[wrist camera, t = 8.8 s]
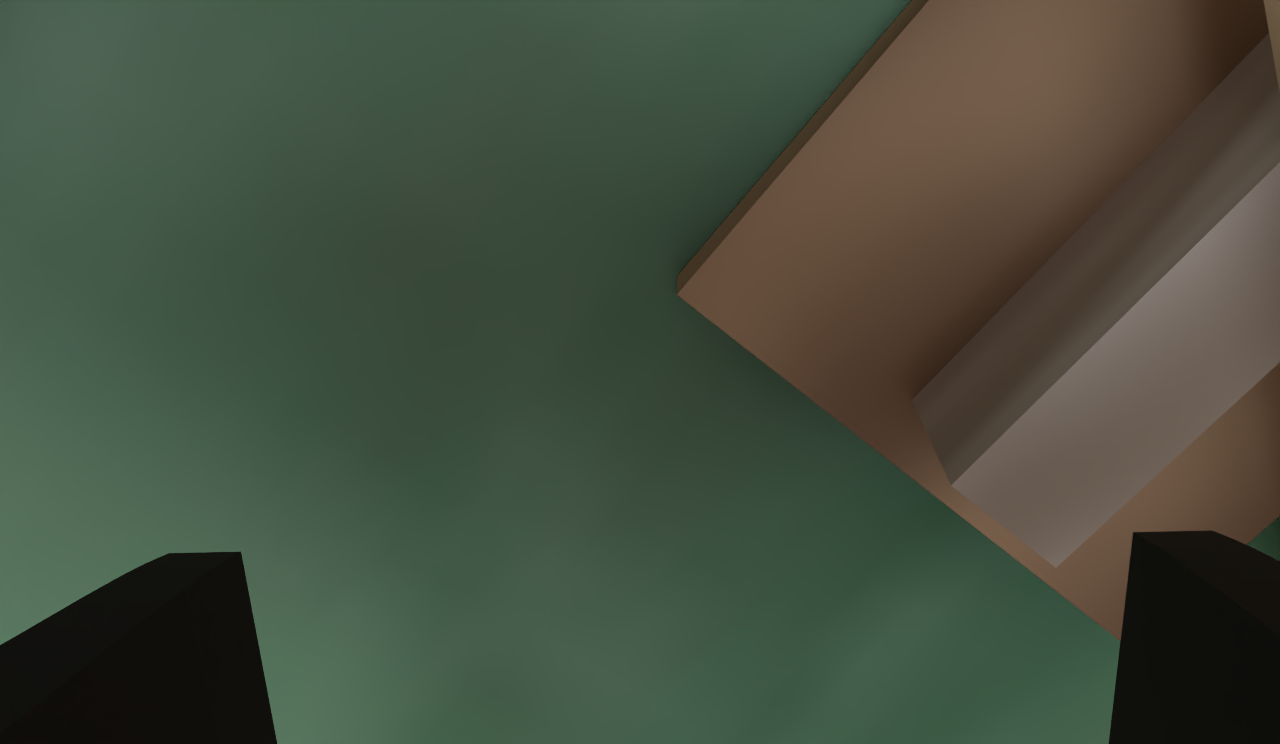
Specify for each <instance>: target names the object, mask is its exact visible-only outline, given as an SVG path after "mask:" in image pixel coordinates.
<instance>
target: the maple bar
mask: <svg viewBox="0 0 1280 744" xmlns="http://www.w3.org/2000/svg"><path fill="white" fill-rule="evenodd" d="M1264 6H1265V12H1266V17H1267V23H1268V29H1269V35H1270V40H1271V46H1272V52H1273V57H1274V63H1275V69H1276V74H1277V80H1278V86H1279V91H1280V0H1264Z"/></svg>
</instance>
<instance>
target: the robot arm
mask: <svg viewBox="0 0 1280 744" xmlns="http://www.w3.org/2000/svg"><path fill="white" fill-rule="evenodd" d="M0 744H277V740H276V735H275V730H274V724H273V719H272V714H271V709H270V703H269V698H268V693H267V687H266V682H265V677H264V671H263V666H262V661H261V656H260V650H259V645H258V640H257V634H256V629H255V624H254V618H253V613H252V608H251V603H250V597H249V592H248V587H247V581H246V576H245V571H244V565H243V560H242V555H241V552H209V553H169V554H166V555H164V556H162V557H160V558H157V559H155V560H153V561H150V562H148V563H146V564H144V565H142V566H140V567H138V568H136V569H134V570H132V571H130V572H128V573H126V574H124V575H122V576H120V577H119V578H117V579H115V580H113V581H111V582H109V583H108V584H106V585H104V586H102V587H100V588H99V589H97V590H95V591H93V592H92V593H90V594H88V595H86V596H85V597H83V598H81V599H79V600H78V601H76V602H74V603H72V604H71V605H69V606H67V607H65V608H64V609H62V610H60V611H59V612H57V613H55V614H53V615H52V616H50V617H48V618H46V619H45V620H43V621H41V622H40V623H38V624H36V625H34V626H33V627H31V628H29V629H28V630H26V631H24V632H22V633H21V634H19V635H17V636H15V637H14V638H12V639H10V640H9V641H7V642H5V643H3V644H2V645H0ZM1109 744H1280V562H1279V561H1277V560H1276V559H1274V558H1272V557H1270V556H1268V555H1266V554H1264V553H1262V552H1260V551H1258V550H1256V549H1254V548H1252V547H1250V546H1248V545H1245V544H1243V543H1241V542H1239V541H1237V540H1235V539H1232V538H1230V537H1227V536H1225V535H1222V534H1220V533H1218V532H1215V531H1212V530H1208V531H1163V532H1133V537H1132V546H1131V555H1130V563H1129V572H1128V581H1127V590H1126V598H1125V607H1124V616H1123V624H1122V633H1121V642H1120V651H1119V659H1118V668H1117V677H1116V686H1115V694H1114V703H1113V712H1112V720H1111V729H1110V738H1109Z"/></svg>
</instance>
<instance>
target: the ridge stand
mask: <svg viewBox="0 0 1280 744" xmlns="http://www.w3.org/2000/svg"><path fill="white" fill-rule="evenodd" d="M677 295H678V296H679V297H680V298H682V299H683V300H684V301H686V302H687V303H688V304H689V305H691V306H692V307H693V308H695V309H696V310H697V311H698V312H700V313H701V314H702V315H703V316H705V317H706V318H707V319H709V320H710V321H711V322H712V323H714V324H715V325H716V326H718V327H719V328H720V329H721V330H723V331H724V332H725V333H727V334H728V335H729V336H730V337H732V338H733V339H734V340H735V341H737V342H738V343H739V344H741V345H742V346H743V347H744V348H746V349H747V350H748V351H750V352H751V353H752V354H753V355H755V356H756V357H757V358H759V359H760V360H761V361H762V362H764V363H765V364H766V365H768V366H769V367H770V368H771V369H773V370H774V371H775V372H776V373H778V374H779V375H780V376H782V377H783V378H784V379H785V380H787V381H788V382H789V383H791V384H792V385H793V386H794V387H796V388H797V389H798V390H800V391H801V392H802V393H803V394H805V395H806V396H807V397H808V398H810V399H811V400H812V401H814V402H815V403H816V404H817V405H819V406H820V407H821V408H823V409H824V410H825V411H826V412H828V413H829V414H830V415H832V416H833V417H834V418H835V419H837V420H838V421H839V422H840V423H842V424H843V425H844V426H846V427H847V428H848V429H849V430H851V431H852V432H853V433H855V434H856V435H857V436H858V437H860V438H861V439H862V440H864V441H865V442H866V443H867V444H869V445H870V446H871V447H873V448H874V449H875V450H876V451H878V452H879V453H880V454H881V455H883V456H884V457H885V458H887V459H888V460H889V461H890V462H892V463H893V464H894V465H896V466H897V467H898V468H899V469H901V470H902V471H903V472H905V473H906V474H907V475H908V476H910V477H911V478H912V479H913V480H915V481H916V482H917V483H919V484H920V485H921V486H922V487H924V488H925V489H926V490H928V491H929V492H930V493H931V494H933V495H934V496H935V497H937V498H938V499H939V500H940V501H942V502H943V503H944V504H945V505H947V506H948V507H949V508H951V509H952V510H953V511H954V512H956V513H957V514H958V515H960V516H961V517H962V518H963V519H965V520H966V521H967V522H969V523H970V524H971V525H972V526H974V527H975V528H976V529H978V530H979V531H980V532H981V533H983V534H984V535H985V536H986V537H988V538H989V539H990V540H992V541H993V542H994V543H995V544H997V545H998V546H999V547H1001V548H1002V549H1003V550H1004V551H1006V552H1007V553H1008V554H1010V555H1011V556H1012V557H1013V558H1015V559H1016V560H1017V561H1018V562H1020V563H1021V564H1022V565H1024V566H1025V567H1026V568H1027V569H1029V570H1030V571H1031V572H1033V573H1034V574H1035V575H1036V576H1038V577H1039V578H1040V579H1042V580H1043V581H1044V582H1045V583H1047V584H1048V585H1049V586H1050V587H1052V588H1053V589H1054V590H1056V591H1057V592H1058V593H1059V594H1061V595H1062V596H1063V597H1065V598H1066V599H1067V600H1068V601H1070V602H1071V603H1072V604H1074V605H1075V606H1076V607H1077V608H1079V609H1080V610H1081V611H1083V612H1084V613H1085V614H1086V615H1088V616H1089V617H1090V618H1091V619H1093V620H1094V621H1095V622H1097V623H1098V624H1099V625H1100V626H1102V627H1103V628H1104V629H1106V630H1107V631H1108V632H1109V633H1111V634H1112V635H1113V636H1115V637H1116V638H1117V639H1118V640H1120V641H1121V633H1122V624H1123V616H1124V607H1125V598H1126V590H1127V581H1128V572H1129V563H1130V555H1131V546H1132V537H1133V532H1163V531H1208V530H1212V531H1215V532H1218V533H1220V534H1222V535H1225V536H1227V537H1230V538H1232V539H1235V540H1237V541H1239V542H1241V543H1243V544H1245V545H1247V544H1248V543H1249V542H1250V541H1251V540H1252V539H1253V538H1255V537H1256V536H1257V535H1258V534H1259V533H1260V532H1262V531H1263V530H1264V529H1265V528H1266V527H1267V526H1268V525H1270V524H1271V523H1272V522H1273V521H1274V520H1275V519H1276V518H1278V517H1279V516H1280V91H1279V86H1278V80H1277V74H1276V69H1275V63H1274V57H1273V52H1272V46H1271V40H1270V35H1269V29H1268V23H1267V17H1266V12H1265V6H1264V0H912V1H911V2H910V3H909V4H908V5H907V7H906V8H905V9H904V10H903V11H902V12H901V14H900V15H899V16H898V17H897V18H896V20H895V21H894V22H893V23H892V24H891V25H890V27H889V28H888V29H887V30H886V31H885V32H884V34H883V35H882V36H881V37H880V38H879V39H878V41H877V42H876V43H875V44H874V45H873V47H872V48H871V49H870V50H869V51H868V52H867V54H866V55H865V56H864V57H863V58H862V59H861V61H860V62H859V63H858V64H857V65H856V67H855V68H854V69H853V70H852V71H851V72H850V74H849V75H848V76H847V77H846V78H845V79H844V81H843V82H842V83H841V84H840V85H839V86H838V88H837V89H836V90H835V91H834V92H833V94H832V95H831V96H830V97H829V98H828V99H827V101H826V102H825V103H824V104H823V105H822V106H821V108H820V109H819V110H818V111H817V112H816V114H815V115H814V116H813V117H812V118H811V119H810V121H809V122H808V123H807V124H806V125H805V126H804V128H803V129H802V130H801V131H800V132H799V133H798V135H797V136H796V137H795V138H794V139H793V141H792V142H791V143H790V144H789V145H788V146H787V148H786V149H785V150H784V151H783V152H782V153H781V155H780V156H779V157H778V158H777V159H776V160H775V162H774V163H773V164H772V165H771V166H770V168H769V169H768V170H767V171H766V172H765V173H764V175H763V176H762V177H761V178H760V179H759V180H758V182H757V183H756V184H755V185H754V186H753V188H752V189H751V190H750V191H749V192H748V193H747V195H746V196H745V197H744V198H743V199H742V200H741V202H740V203H739V204H738V205H737V206H736V207H735V209H734V210H733V211H732V212H731V213H730V215H729V216H728V217H727V218H726V219H725V220H724V222H723V223H722V224H721V225H720V226H719V227H718V229H717V230H716V231H715V232H714V233H713V235H712V236H711V237H710V238H709V239H708V240H707V242H706V243H705V244H704V245H703V246H702V247H701V249H700V250H699V251H698V252H697V253H696V254H695V256H694V257H693V258H692V259H691V260H690V262H689V263H688V264H687V265H686V266H685V267H684V269H683V270H682V271H681V272H680V273H679V274H678V276H677Z"/></svg>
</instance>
